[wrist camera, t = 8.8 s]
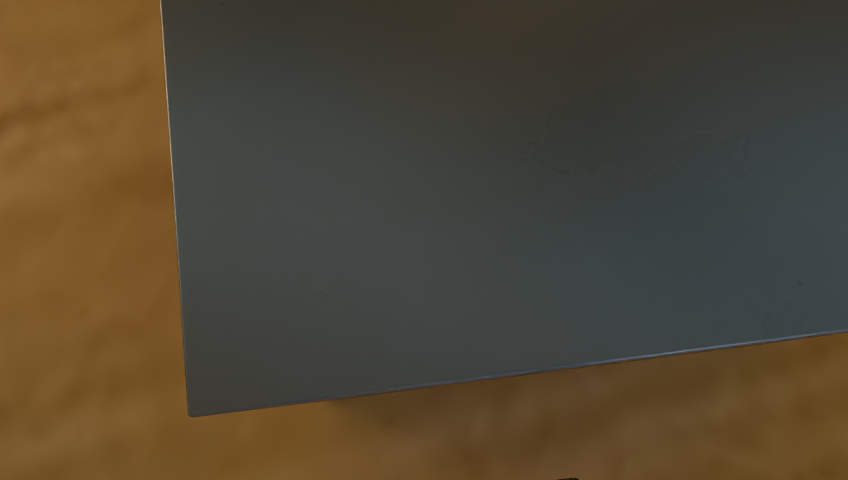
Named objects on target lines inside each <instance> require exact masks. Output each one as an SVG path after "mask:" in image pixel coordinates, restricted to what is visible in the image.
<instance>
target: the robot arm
mask: <svg viewBox="0 0 848 480" xmlns="http://www.w3.org/2000/svg"><path fill="white" fill-rule="evenodd" d="M559 480H579V479H577V478H567V479H559Z"/></svg>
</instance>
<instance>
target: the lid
mask: <svg viewBox="0 0 848 480" xmlns="http://www.w3.org/2000/svg"><path fill="white" fill-rule="evenodd" d="M160 10H161V25H162V39H163V54H164V68H165V83H166V97H167V112H168V127H169V141H170V156H171V170H172V185H173V199H174V214H175V228H176V243H177V258H178V272H179V287H180V301H181V316H182V330H183V345H184V359H185V374H186V389H187V403H188V415H189V416H190V417H199V416H207V415H215V414H223V413H230V412H238V411H246V410H254V409H261V408H269V407H277V406H284V405H292V404H300V403H307V402H315V401H323V400H330V399H338V398H346V397H353V396H361V395H369V394H376V393H384V392H392V391H399V390H407V389H415V388H422V387H430V386H438V385H445V384H453V383H461V382H468V381H476V380H484V379H491V378H499V377H507V376H514V375H522V374H530V373H537V372H545V371H553V370H560V369H568V368H576V367H583V366H591V365H599V364H607V363H614V362H622V361H630V360H637V359H645V358H653V357H660V356H668V355H676V354H683V353H691V352H699V351H706V350H714V349H722V348H729V347H737V346H745V345H752V344H760V343H768V342H775V341H783V340H791V339H798V338H806V337H814V336H821V335H829V334H837V333H844V332H848V0H160Z"/></svg>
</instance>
